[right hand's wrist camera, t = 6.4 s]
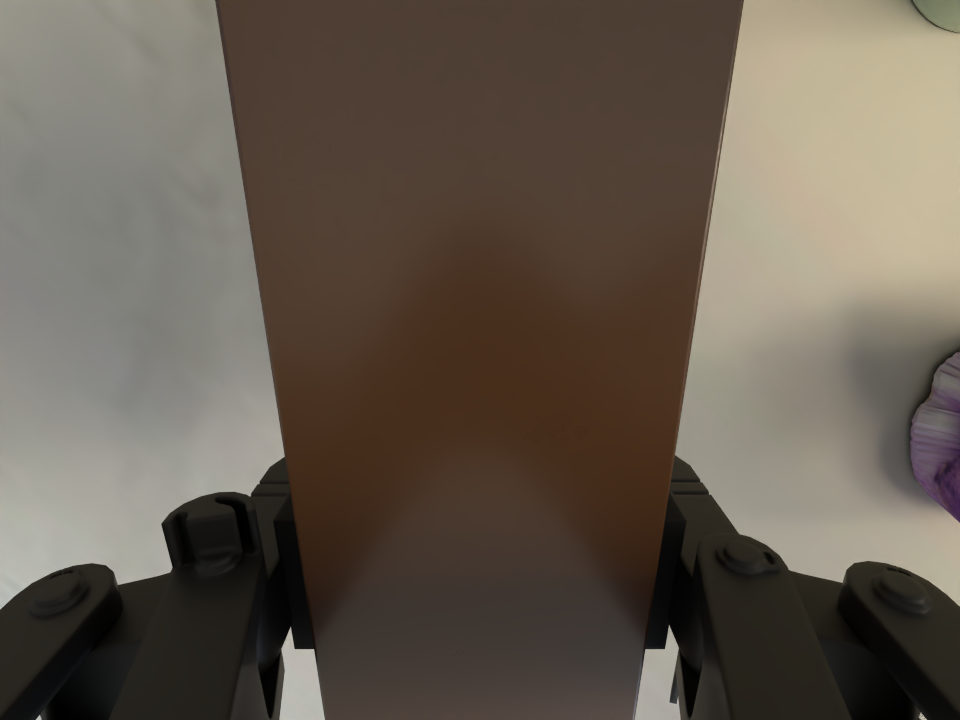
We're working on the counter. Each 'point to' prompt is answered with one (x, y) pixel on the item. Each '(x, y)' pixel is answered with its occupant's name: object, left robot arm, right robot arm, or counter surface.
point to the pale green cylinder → (941, 12)
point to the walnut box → (479, 328)
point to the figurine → (939, 438)
